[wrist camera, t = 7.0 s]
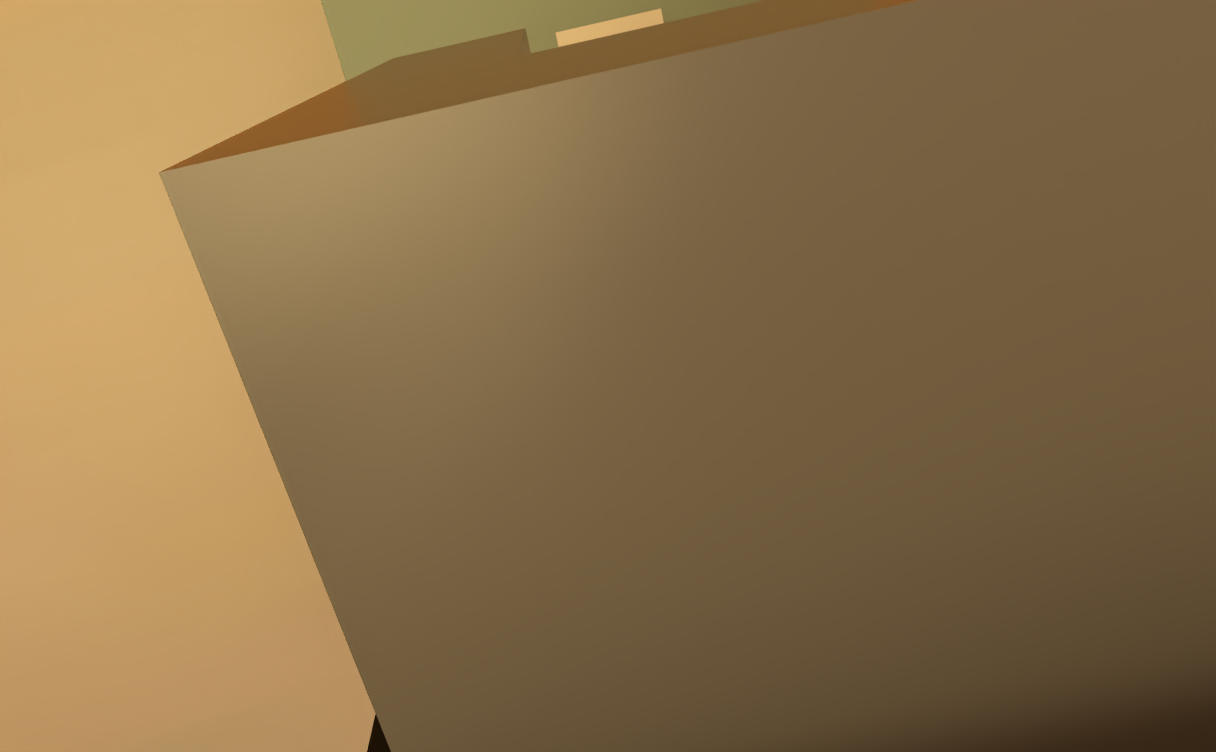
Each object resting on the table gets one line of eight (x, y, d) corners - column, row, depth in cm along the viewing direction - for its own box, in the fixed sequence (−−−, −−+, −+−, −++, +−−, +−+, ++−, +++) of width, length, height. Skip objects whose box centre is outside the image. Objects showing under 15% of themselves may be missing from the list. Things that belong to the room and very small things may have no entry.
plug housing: (1038, 818, 14) (1384, 1389, 8) (635, 903, 14) (702, 1527, 8) (1007, -82, 9) (1799, -200, 3) (393, 58, 9) (160, 173, 3)
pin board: (905, 513, 28) (977, 615, 23) (516, 598, 28) (513, 717, 24) (829, -260, 20) (916, -334, 16) (293, -136, 20) (223, -172, 16)
